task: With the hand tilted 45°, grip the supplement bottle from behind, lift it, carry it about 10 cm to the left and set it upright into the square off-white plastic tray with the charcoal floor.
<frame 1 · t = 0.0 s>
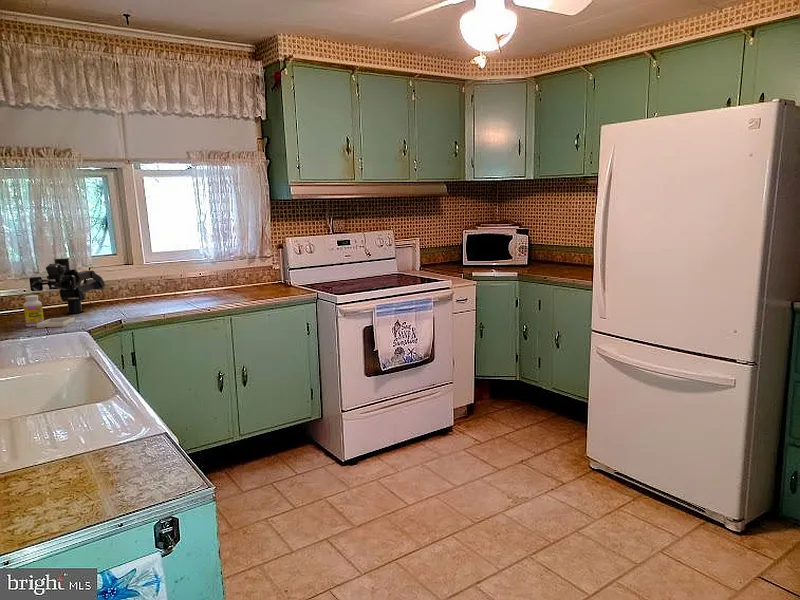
hand: (43, 285, 247), 17 cm above the counter, tool horizontal, fingers open, 9 cm apart
pocket tray: (56, 324, 245), on the counter
supplement bottle: (35, 325, 246), on the counter
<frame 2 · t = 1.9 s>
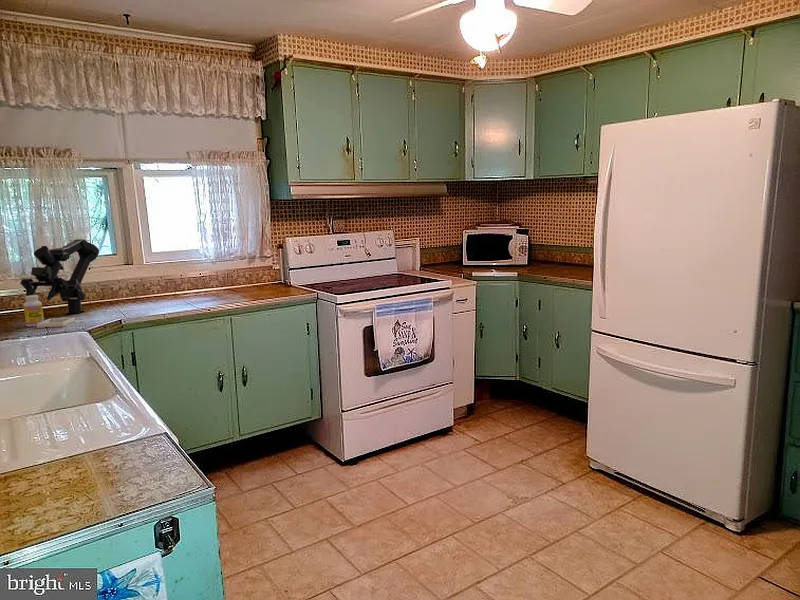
hand: (37, 299, 248), 11 cm above the counter, tool tilted 45°, fingers open, 9 cm apart
nothing on the counter moved.
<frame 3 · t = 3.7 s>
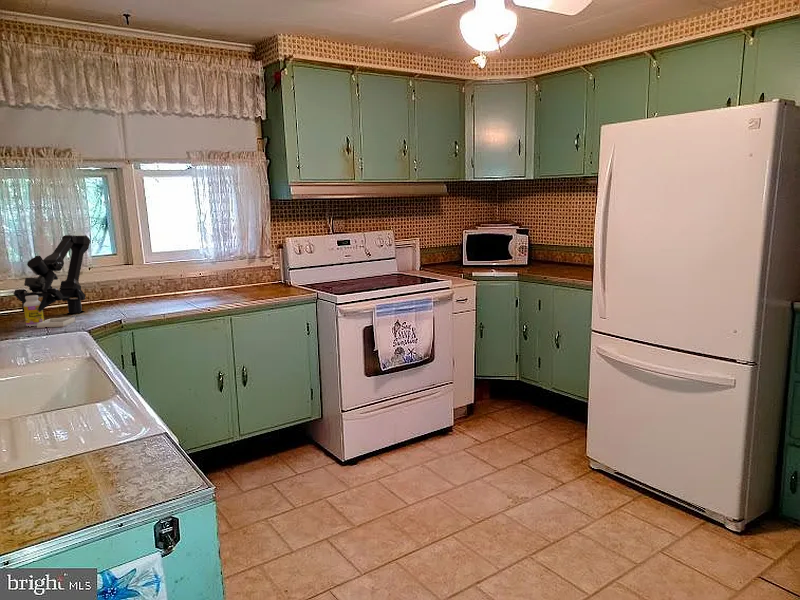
hand: (31, 310, 243), 7 cm above the counter, tool tilted 45°, fingers closed on supplement bottle, 7 cm apart
supplement bottle: (35, 325, 246), on the counter, touching gripper
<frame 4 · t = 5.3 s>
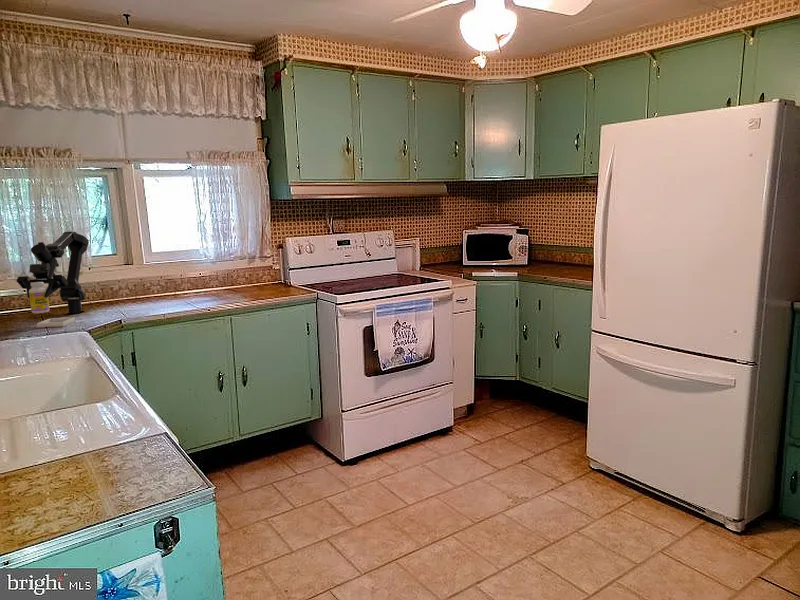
hand: (37, 297, 242), 12 cm above the counter, tool tilted 45°, fingers closed on supplement bottle, 7 cm apart
supplement bottle: (41, 312, 244), point 6 cm above the counter, touching gripper
when the fingers open (8 cm above the counter, at t = 7.2 s): supplement bottle drops 1 cm, resting on pocket tray.
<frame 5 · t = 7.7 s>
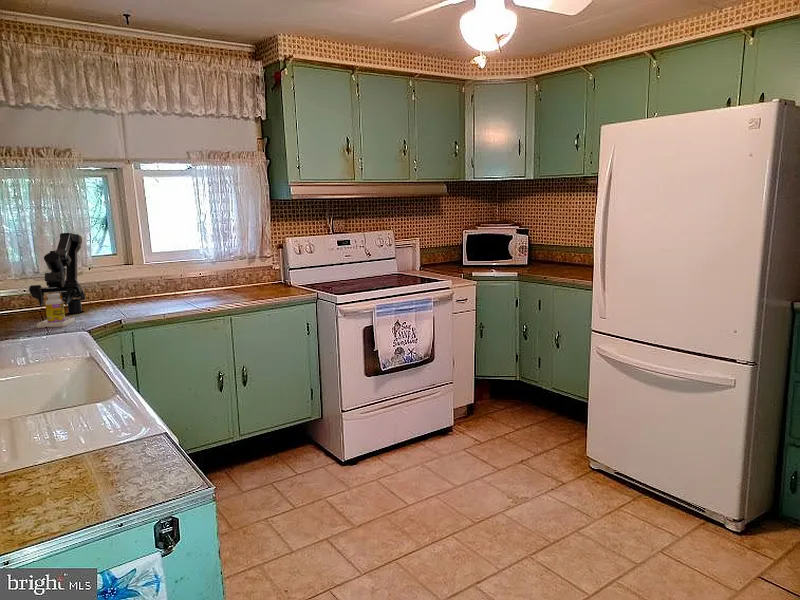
hand: (53, 305, 242), 9 cm above the counter, tool tilted 45°, fingers open, 9 cm apart
supplement bottle: (56, 324, 245), resting on pocket tray
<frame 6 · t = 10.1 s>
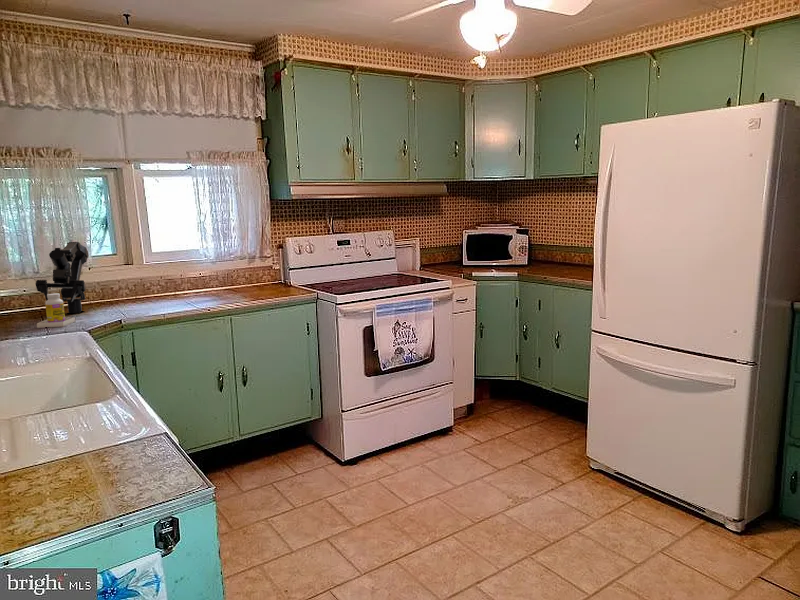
hand: (59, 301, 251), 9 cm above the counter, tool tilted 40°, fingers open, 9 cm apart
nothing on the counter moved.
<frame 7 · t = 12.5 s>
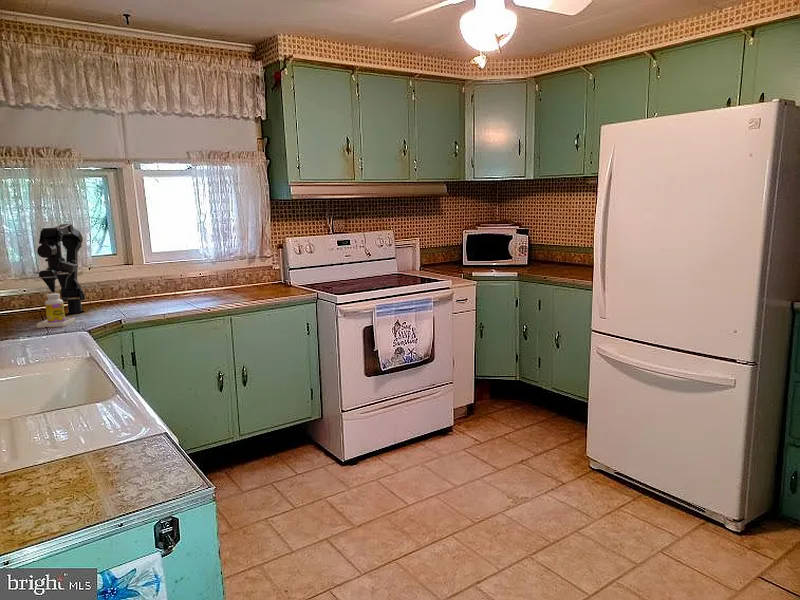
hand: (58, 291, 256), 13 cm above the counter, tool pointing down, fingers open, 9 cm apart
nothing on the counter moved.
at the end: supplement bottle 0.2 cm off-centre on the pocket tray, point 0.3 cm above the pocket tray's base; supplement bottle tilted 0°; the gripper is holding nothing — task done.
